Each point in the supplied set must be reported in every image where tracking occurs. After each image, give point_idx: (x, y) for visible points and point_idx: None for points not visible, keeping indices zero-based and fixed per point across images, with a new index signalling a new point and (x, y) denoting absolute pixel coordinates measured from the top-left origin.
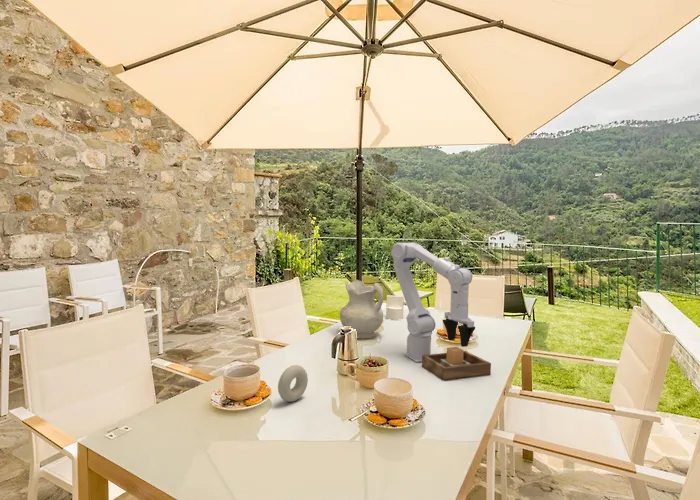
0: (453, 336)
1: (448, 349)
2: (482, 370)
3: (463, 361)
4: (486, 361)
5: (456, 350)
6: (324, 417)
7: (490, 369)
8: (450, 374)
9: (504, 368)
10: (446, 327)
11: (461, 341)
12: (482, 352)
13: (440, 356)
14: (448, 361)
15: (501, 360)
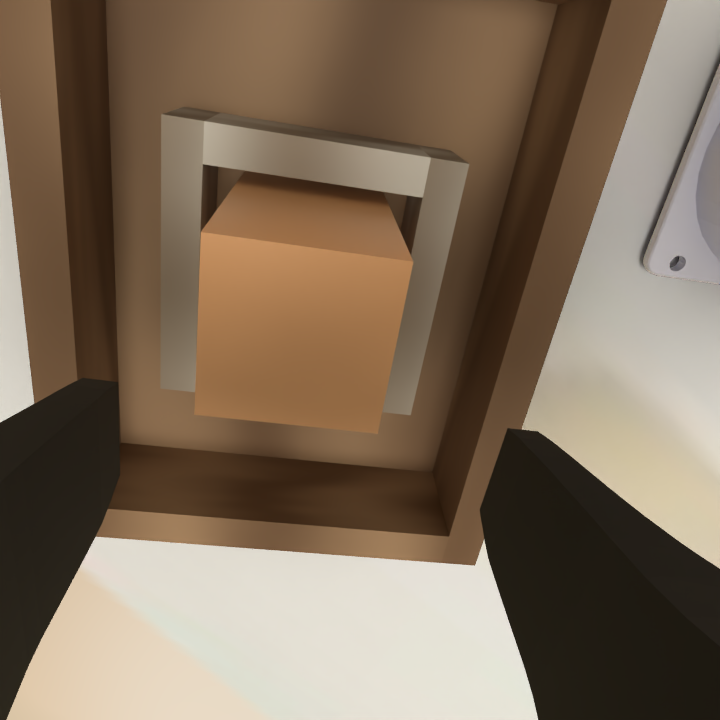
0: (505, 542)
1: (362, 251)
2: None
3: None
4: (111, 530)
5: (218, 306)
6: None
7: None
8: None
9: (191, 623)
10: (709, 594)
11: (33, 415)
12: (529, 700)
13: (530, 232)
14: (342, 202)
15: (336, 698)
